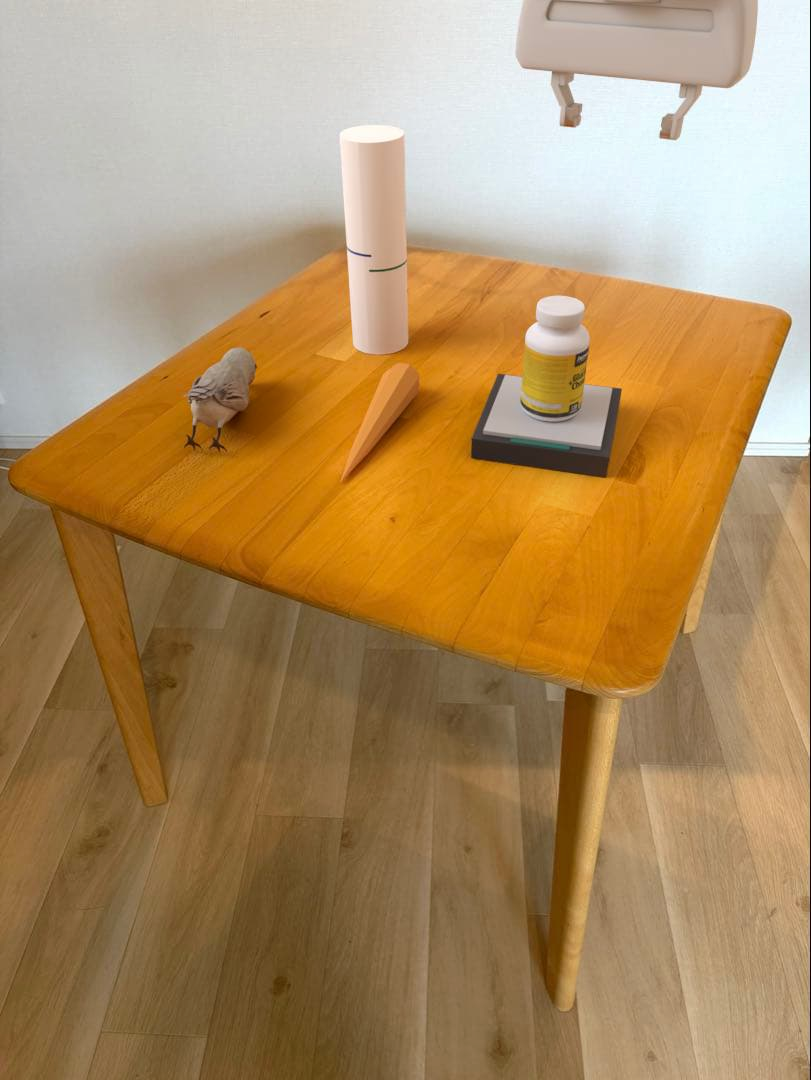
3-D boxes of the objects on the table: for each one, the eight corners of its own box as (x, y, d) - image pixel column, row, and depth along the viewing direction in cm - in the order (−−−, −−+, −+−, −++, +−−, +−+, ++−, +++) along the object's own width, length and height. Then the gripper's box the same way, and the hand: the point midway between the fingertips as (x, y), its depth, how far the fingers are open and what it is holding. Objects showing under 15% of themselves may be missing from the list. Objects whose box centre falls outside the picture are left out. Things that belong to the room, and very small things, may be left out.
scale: (618, 407, 96) (622, 384, 94) (606, 477, 86) (610, 453, 84) (496, 392, 99) (498, 369, 98) (470, 458, 89) (471, 434, 87)
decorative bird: (271, 384, 102) (264, 326, 97) (227, 460, 90) (216, 398, 85) (229, 381, 103) (219, 323, 98) (179, 456, 90) (165, 394, 86)
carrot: (398, 392, 101) (382, 360, 99) (431, 386, 99) (415, 353, 96) (331, 502, 88) (311, 469, 86) (367, 498, 86) (347, 463, 83)
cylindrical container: (367, 325, 113) (356, 122, 97) (416, 334, 111) (414, 127, 95) (343, 349, 108) (328, 139, 92) (395, 358, 106) (388, 145, 90)
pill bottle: (562, 431, 87) (574, 325, 80) (508, 412, 90) (515, 308, 83) (591, 404, 91) (606, 301, 84) (539, 386, 94) (548, 286, 87)
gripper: (508, -53, 71) (500, 126, 80) (762, -43, 63) (721, 155, 72) (538, -60, 75) (527, 111, 84) (779, -52, 67) (739, 136, 76)
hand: (618, 131), depth 78 cm, fingers open, 8 cm apart
